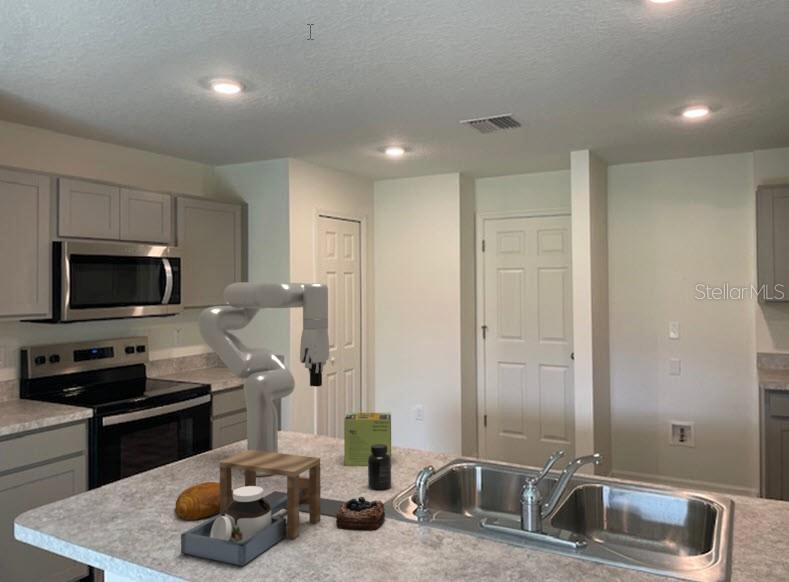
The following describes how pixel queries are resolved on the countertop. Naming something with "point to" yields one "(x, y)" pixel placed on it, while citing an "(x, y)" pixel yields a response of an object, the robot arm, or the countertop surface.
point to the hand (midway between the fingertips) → (315, 385)
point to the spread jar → (243, 516)
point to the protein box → (365, 436)
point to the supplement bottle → (379, 468)
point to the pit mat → (326, 505)
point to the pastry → (360, 514)
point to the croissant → (199, 501)
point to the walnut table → (279, 466)
